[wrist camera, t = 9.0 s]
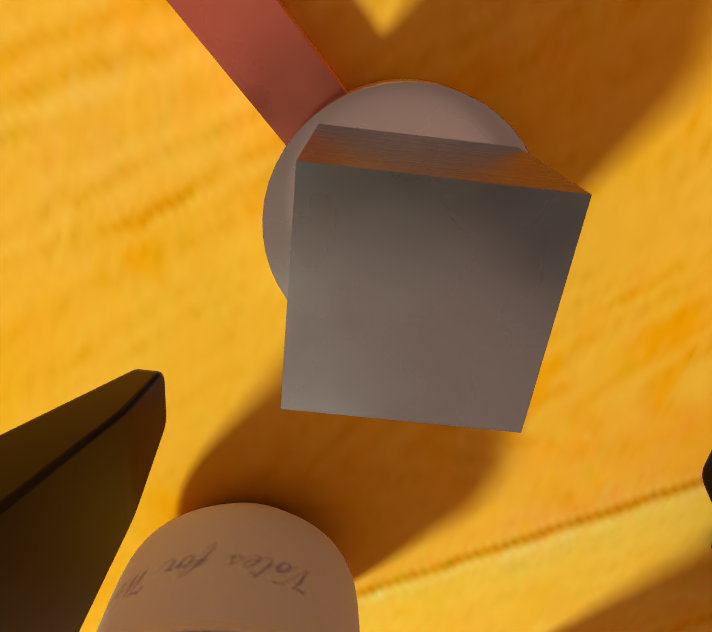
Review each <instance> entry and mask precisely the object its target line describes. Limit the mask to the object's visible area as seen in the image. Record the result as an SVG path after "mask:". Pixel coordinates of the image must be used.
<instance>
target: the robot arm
mask: <svg viewBox="0 0 712 632" xmlns="http://www.w3.org/2000/svg"><path fill="white" fill-rule="evenodd" d="M165 423H166V401H165V381H164V377H163V374H162V373H161V372H159V371H150V370H141V369H136V370H133V371H131V372H129V373H127V374H125V375H123V376H120V377H118V378H116V379H114V380H112V381H110V382H108V383H106V384H104V385H102V386H100V387H98V388H96V389H94V390H92V391H90V392H88V393H86V394H84V395H82V396H80V397H77V398H75V399H73V400H71V401H69V402H67V403H65V404H63V405H61V406H59V407H57V408H55V409H53V410H51V411H49V412H47V413H45V414H43V415H41V416H39V417H36V418H34V419H32V420H30V421H28V422H26V423H24V424H22V425H20V426H18V427H16V428H14V429H12V430H10V431H8V432H6V433H4V434H2V435H0V632H79V631H80V628H81V626H82V624H83V622H84V620H85V618H86V616H87V614H88V612H89V610H90V608H91V606H92V604H93V601H94V599H95V597H96V595H97V593H98V591H99V589H100V587H101V585H102V583H103V581H104V579H105V576H106V574H107V572H108V570H109V568H110V566H111V564H112V562H113V560H114V558H115V556H116V554H117V552H118V549H119V547H120V545H121V543H122V541H123V539H124V537H125V535H126V533H127V531H128V529H129V526H130V524H131V522H132V520H133V517H134V515H135V513H136V510H137V507H138V504H139V502H140V499H141V496H142V493H143V490H144V487H145V484H146V481H147V478H148V475H149V473H150V470H151V467H152V464H153V461H154V458H155V455H156V452H157V449H158V446H159V443H160V440H161V437H162V435H163V432H164V428H165ZM702 478H703V483H704V485H705V488H706V490H707V493H708V495H709V497H710V500H711V502H712V451H711V453H710V455H709V457H708V459H707V461H706V463H705V465H704V467H703V472H702ZM711 548H712V546H711Z"/></svg>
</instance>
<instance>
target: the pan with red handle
mask: <svg viewBox="0 0 712 632" xmlns="http://www.w3.org/2000/svg"><path fill="white" fill-rule="evenodd" d="M167 1H168V3H169V4H170V5H171V6H172V8H173V9H174V10H175V11H176V12H177V14H178V15H179V16H180V17H181V18H182V20H183V21H184V22H185V23H186V24H187V26H188V27H189V28H190V29H191V31H192V32H193V33H194V34H195V35H196V37H197V38H198V39H199V40H200V41H201V43H202V44H203V45H204V46H205V48H206V49H207V50H208V51H209V52H210V54H211V55H212V56H213V57H214V58H215V60H216V61H217V62H218V63H219V65H220V66H221V67H222V68H223V69H224V71H225V72H226V73H227V74H228V75H229V77H230V78H231V79H232V80H233V82H234V83H235V84H236V85H237V86H238V88H239V89H240V90H241V91H242V92H243V94H244V95H245V96H246V97H247V99H248V100H249V101H250V102H251V103H252V105H253V106H254V107H255V108H256V109H257V111H258V112H259V113H260V114H261V115H262V117H263V118H264V119H265V120H266V122H267V123H268V124H269V125H270V126H271V128H272V129H273V130H274V131H275V132H276V134H277V135H278V136H279V137H280V139H281V140H282V141H283V142H284V143H285V145H286V147H285V149H284V151H283V153H282V154H281V156H280V158H279V160H278V162H277V163H276V165H275V168H274V170H273V173H272V175H271V178H270V180H269V184H268V188H267V192H266V196H265V200H264V209H263V239H264V245H265V251H266V255H267V258H268V262H269V265H270V268H271V271H272V273H273V275H274V277H275V280H276V282H277V284H278V286H279V287H280V289H281V291H282V292H283V294H284V295H285V297H286V299H288V283H289V266H290V250H291V234H292V218H293V202H294V186H295V170H296V160H297V158H298V157H299V155H300V153H301V152H302V150H303V148H304V147H305V145H306V144H307V142H308V140H309V139H310V137H311V135H312V134H313V132H314V130H315V129H316V127H317V125H318V124H326V125H335V126H343V127H352V128H360V129H369V130H377V131H386V132H394V133H403V134H411V135H420V136H428V137H437V138H445V139H454V140H462V141H471V142H479V143H488V144H496V145H505V146H513V147H519V148H520V149H522V150H523V151H525V152H526V153H528V154H529V152H528V150H527V149H526V147H525V145H524V143H523V142H522V141H521V139H520V138H519V137H518V135H517V134H516V133H515V131H514V130H513V129H512V127H510V126H509V125H508V124H507V123H506V122H505V121H504V120H503V119H502V118H501V117H500V116H499V115H498V114H497V113H496V112H494V111H493V110H491V109H490V108H489V107H487V106H486V105H485V104H483V103H482V102H480V101H478V100H476V99H474V98H472V97H470V96H468V95H466V94H464V93H462V92H460V91H458V90H456V89H453V88H450V87H447V86H445V85H442V84H439V83H435V82H430V81H425V80H420V79H390V80H381V81H377V82H373V83H368V84H364V85H362V86H359V87H357V88H354V89H351V90H349V91H348V90H347V89H346V87H345V86H344V85H343V83H342V82H341V81H340V79H339V78H338V77H337V75H336V74H335V72H334V71H333V70H332V68H331V67H330V66H329V64H328V63H327V62H326V60H325V59H324V58H323V56H322V55H321V54H320V52H319V51H318V50H317V48H316V47H315V46H314V44H313V43H312V42H311V40H310V39H309V38H308V36H307V35H306V34H305V32H304V31H303V30H302V28H301V27H300V26H299V24H298V23H297V22H296V20H295V19H294V18H293V16H292V15H291V14H290V12H289V11H288V10H287V8H286V7H285V6H284V4H283V3H282V2H281V0H167Z"/></svg>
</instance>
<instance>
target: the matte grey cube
mask: <svg viewBox="0 0 712 632" xmlns="http://www.w3.org/2000/svg"><path fill="white" fill-rule="evenodd" d="M590 199H591V194H590V193H588V192H587V191H585V190H584V189H582V188H581V187H579V186H577V185H576V184H574V183H573V182H571V181H570V180H568V179H567V178H565V177H564V176H562V175H560V174H559V173H557V172H556V171H554V170H553V169H551V168H550V167H548V166H547V165H545V164H543V163H542V162H540V161H539V160H537V159H536V158H534V157H533V156H531V155H530V154H528V153H526V152H525V151H523V150H522V149H520V148H519V147H513V146H505V145H496V144H488V143H479V142H471V141H462V140H454V139H445V138H437V137H428V136H420V135H411V134H403V133H394V132H386V131H377V130H369V129H360V128H352V127H343V126H335V125H326V124H318V125H317V127H316V129H315V130H314V132H313V134H312V135H311V137H310V139H309V140H308V142H307V144H306V145H305V147H304V148H303V150H302V152H301V153H300V155H299V157H298V158H297V160H296V170H295V186H294V202H293V218H292V234H291V250H290V266H289V283H288V299H287V315H286V331H285V347H284V363H283V379H282V395H281V409H287V410H297V411H307V412H317V413H327V414H337V415H347V416H357V417H367V418H377V419H387V420H397V421H407V422H418V423H428V424H438V425H448V426H458V427H468V428H478V429H488V430H498V431H508V432H518V433H521V431H522V428H523V424H524V421H525V418H526V414H527V411H528V408H529V404H530V401H531V397H532V394H533V391H534V387H535V384H536V381H537V377H538V374H539V371H540V367H541V364H542V360H543V357H544V354H545V350H546V347H547V344H548V340H549V337H550V333H551V330H552V327H553V323H554V320H555V317H556V313H557V310H558V307H559V303H560V300H561V296H562V293H563V290H564V286H565V283H566V280H567V276H568V273H569V269H570V266H571V263H572V259H573V256H574V253H575V249H576V246H577V243H578V239H579V236H580V232H581V229H582V226H583V222H584V219H585V216H586V212H587V209H588V206H589V202H590Z"/></svg>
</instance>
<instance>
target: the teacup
mask: <svg viewBox="0 0 712 632" xmlns="http://www.w3.org/2000/svg"><path fill="white" fill-rule="evenodd" d="M97 632H360V630H359V616H358V604H357V597H356V591H355V586H354V582H353V578H352V575H351V572H350V570H349V567H348V565H347V563H346V561H345V559H344V557H343V555H342V554H341V552H340V551H339V550H338V548H337V547H336V545H335V544H334V543H333V542H332V541H331V540H330V539H329V538H328V537H327V536H326V535H325V534H324V533H323V532H322V531H320V530H319V529H318V528H316V527H315V526H314V525H312V524H311V523H309V522H307V521H305V520H304V519H302V518H300V517H298V516H296V515H293V514H291V513H288V512H286V511H283V510H281V509H278V508H275V507H272V506H268V505H263V504H257V503H229V504H221V505H214V506H209V507H204V508H200V509H197V510H194V511H191V512H188V513H186V514H183V515H181V516H179V517H177V518H175V519H173V520H171V521H170V522H168V523H166V524H165V525H163V526H161V527H160V528H159V529H157V530H156V531H155V532H154V533H152V534H151V535H150V536H149V537H148V538H147V539H146V540H145V541H144V542H143V544H142V545H141V546H140V547H139V548H138V550H137V551H136V552H135V554H134V555H133V556H132V558H131V559H130V561H129V563H128V565H127V566H126V568H125V570H124V572H123V574H122V576H121V578H120V580H119V582H118V584H117V586H116V588H115V590H114V592H113V594H112V596H111V599H110V601H109V604H108V606H107V608H106V611H105V613H104V615H103V618H102V620H101V623H100V625H99V627H98V630H97Z"/></svg>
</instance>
